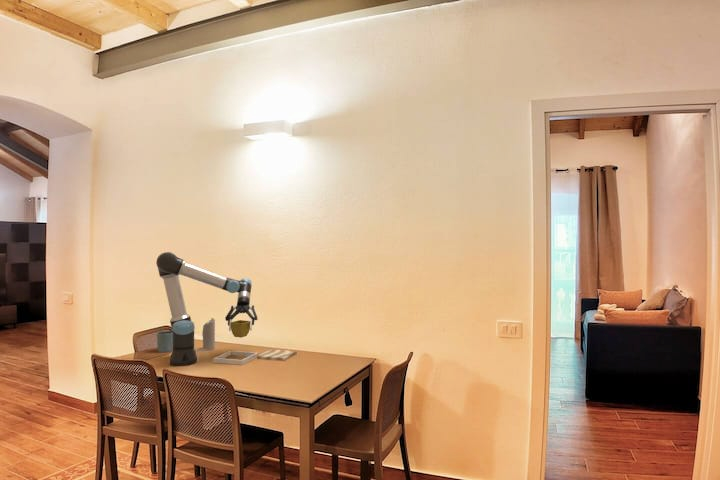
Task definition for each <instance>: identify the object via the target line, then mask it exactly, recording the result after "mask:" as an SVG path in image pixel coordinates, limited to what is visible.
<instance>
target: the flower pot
mask: <svg viewBox="0 0 720 480" xmlns="http://www.w3.org/2000/svg"><path fill="white" fill-rule="evenodd" d="M250 322H251V320H243V319H242V320H239V319H237V320H235V321H232V322H231V323H230V324H231V331H230V332H231V333H232V336H234V338H245V337H247V336H248V335H249V333H250V331H251V330H250Z"/></svg>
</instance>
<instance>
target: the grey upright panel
mask: <svg viewBox="0 0 720 480" xmlns="http://www.w3.org/2000/svg"><path fill="white" fill-rule="evenodd" d="M215 321H216V319H215V318H213V317H211V319H209V320H208V322H207V321H206V322H205V324H203V325H202V333H201V334H202V347H200V348H199V347H198V348H194V349H195V352H196V351H197V352H200V351H201V352H202V351H203V352H204V351H206V352H207V351H213V350H215V348H216V347H215V346H216V345H215V343H216V342H215V341H216V339H215V338H216V336H215V335H216V333H215V332H216V329H215V328H216V325H215V324H216V322H215Z"/></svg>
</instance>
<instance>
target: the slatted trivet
mask: <svg viewBox="0 0 720 480" xmlns="http://www.w3.org/2000/svg"><path fill="white" fill-rule="evenodd" d="M297 352H298V351H297V350H287V349H286V350H285V349H273V348H272V349H271V348H270V349H269V350H267V351H264V352H262V353H260V354H258V356H257V358H256V359H257V360H270V361H287V360H288V359H290V358H291V357H293V356H295V355H297Z"/></svg>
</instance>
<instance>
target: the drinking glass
mask: <svg viewBox="0 0 720 480" xmlns="http://www.w3.org/2000/svg"><path fill="white" fill-rule="evenodd" d="M156 339H157V352H158V353H169V352H171V351H173V333H172V330H163V331H162V330H160V331H157V332H156Z"/></svg>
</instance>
